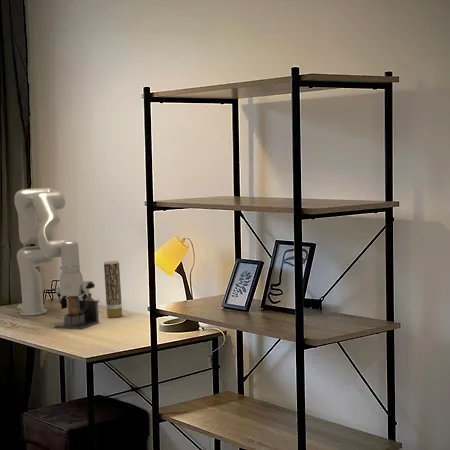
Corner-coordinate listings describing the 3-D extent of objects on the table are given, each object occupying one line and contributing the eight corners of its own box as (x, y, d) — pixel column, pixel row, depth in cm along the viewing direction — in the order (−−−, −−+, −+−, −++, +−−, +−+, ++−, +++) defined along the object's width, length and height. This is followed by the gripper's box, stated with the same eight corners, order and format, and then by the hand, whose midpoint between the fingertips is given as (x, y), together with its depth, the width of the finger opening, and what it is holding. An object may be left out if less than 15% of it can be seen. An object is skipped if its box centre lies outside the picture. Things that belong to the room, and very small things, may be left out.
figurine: (83, 316, 378) (81, 283, 377) (70, 313, 387) (68, 281, 385) (100, 312, 384) (98, 281, 383) (87, 309, 393) (85, 278, 391)
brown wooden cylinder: (67, 324, 355) (65, 292, 354) (73, 322, 359) (71, 290, 358) (75, 325, 353) (73, 292, 352) (81, 323, 357) (80, 291, 356)
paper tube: (119, 318, 369) (116, 262, 367) (105, 318, 371) (101, 263, 368) (124, 314, 376) (121, 260, 374) (110, 314, 377) (106, 260, 375)
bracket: (72, 321, 367) (71, 299, 366) (98, 323, 360) (97, 300, 360) (54, 327, 355) (52, 304, 354) (81, 329, 349) (79, 306, 348)
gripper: (49, 270, 355) (52, 309, 356) (82, 271, 347) (84, 311, 349) (60, 267, 361) (62, 306, 363) (92, 268, 354) (95, 308, 355)
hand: (73, 308), depth 356 cm, fingers open, 9 cm apart
